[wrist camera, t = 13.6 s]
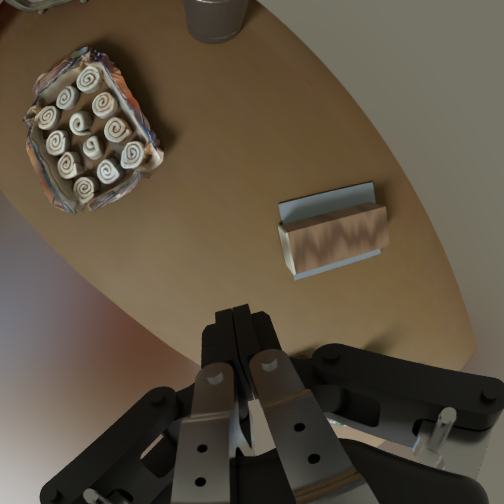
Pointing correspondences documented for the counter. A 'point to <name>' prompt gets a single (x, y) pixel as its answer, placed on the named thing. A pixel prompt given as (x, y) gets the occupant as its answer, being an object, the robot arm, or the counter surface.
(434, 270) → the counter surface
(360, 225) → the walnut block
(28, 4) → the tabletop clock
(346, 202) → the mat
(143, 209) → the counter surface
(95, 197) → the baking tray
